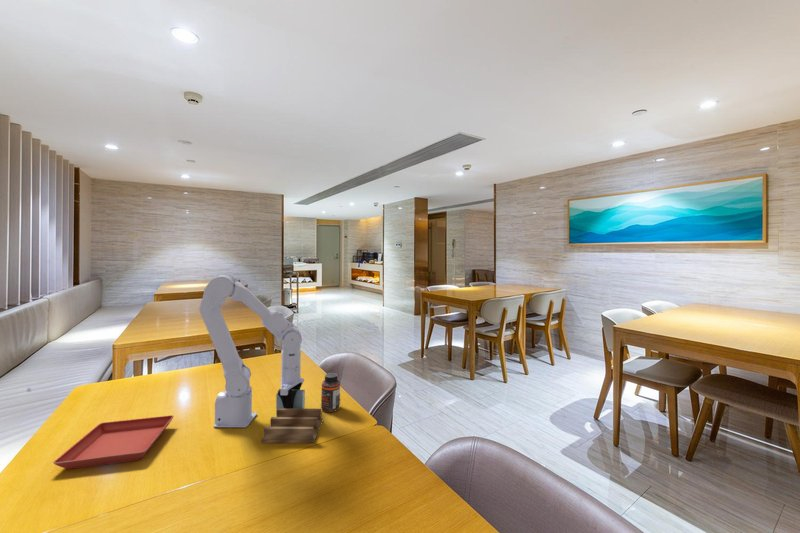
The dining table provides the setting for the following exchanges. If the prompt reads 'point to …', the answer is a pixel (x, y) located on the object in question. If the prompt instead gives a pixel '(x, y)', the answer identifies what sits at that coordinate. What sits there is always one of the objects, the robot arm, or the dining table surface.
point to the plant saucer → (114, 442)
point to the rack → (293, 426)
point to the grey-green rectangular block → (298, 401)
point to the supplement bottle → (330, 393)
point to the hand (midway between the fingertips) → (290, 408)
